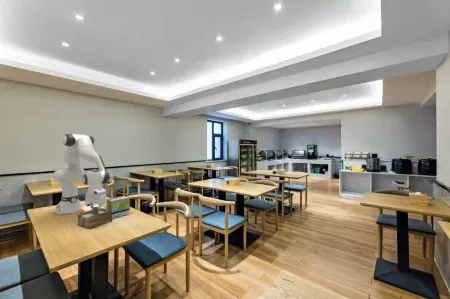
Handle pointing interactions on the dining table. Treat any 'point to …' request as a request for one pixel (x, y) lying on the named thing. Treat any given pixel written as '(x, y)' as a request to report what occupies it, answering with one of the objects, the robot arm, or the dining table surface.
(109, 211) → the caddy
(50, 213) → the dining table surface
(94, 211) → the lid
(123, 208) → the tea box
